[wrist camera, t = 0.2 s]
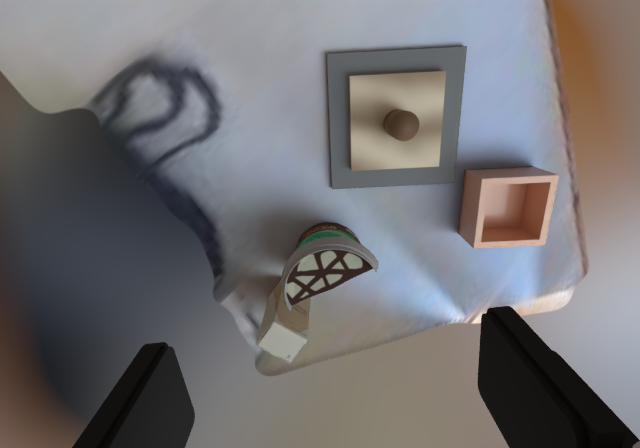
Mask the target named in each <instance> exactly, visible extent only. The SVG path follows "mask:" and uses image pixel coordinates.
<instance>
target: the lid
mask: <svg viewBox="0 0 640 448" xmlns="http://www.w3.org/2000/svg"><path fill="white" fill-rule="evenodd" d="M445 81H446V71H435V72H416V73H397V74H378V75H359V76H349V90H350V149H351V171H361V170H381V169H400V168H420V167H439V160H440V147H441V134H442V120H443V107H444V94H445Z"/></svg>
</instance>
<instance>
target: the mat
mask: <svg viewBox="0 0 640 448" xmlns="http://www.w3.org/2000/svg"><path fill="white" fill-rule="evenodd" d="M466 50H467V46H465V47H446V48H428V49H409V50H390V51H371V52H353V53H334V54H327V70H328V97H329V123H330V150H331V176H332V189H346V188H365V187H385V186H405V185H424V184H444V183H454V178H455V168H456V157H457V146H458V136H459V125H460V114H461V103H462V93H463V82H464V71H465V61H466ZM435 71H446V81H445V94H444V107H443V120H442V134H441V147H440V160H439V167H420V168H400V169H381V170H361V171H351V149H350V90H349V76H359V75H378V74H397V73H416V72H435Z"/></svg>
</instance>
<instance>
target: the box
mask: <svg viewBox="0 0 640 448" xmlns="http://www.w3.org/2000/svg"><path fill="white" fill-rule="evenodd" d="M310 298H311V297H309V298H307V299H305V300H303V301H301V302H299V303H297V304H294V305H292V309H291V311H290V310H289V309H288V307H287V305H286V303H285V300H284V297H283V292H282V286H281V280H280V281H279V283H278V284H277V285H276V287H275V288H274V290H273V291H272V293H271V294H270V295H269V299H268V302H267V306H266V310H265V314H264V317H263V321H262V324H261V328H260V331H259V335H258V339H257V342H256V346H257V347H259V348H261V349H263V350H264V351H266V352H268V353H270V354H272V355H274V356H276V357H278V358H280V359H282V360H284V361H286V362H288V363H291V362H292V360H293V359H294V358H295V357H296V356H297V354H298V353H299V352H300V350H301V349H302V348H303V346H304V345H305V344H306V342H307V339H308V326H309V311H310Z"/></svg>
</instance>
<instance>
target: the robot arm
mask: <svg viewBox="0 0 640 448" xmlns="http://www.w3.org/2000/svg"><path fill="white" fill-rule="evenodd" d="M478 389H479V392H480V395H481V397H482V399H483V401H484V402H485V404H486V406H487V408H488V410H489V411H490V413H491V415H492V417H493V419H494V420H495V422H496V424H497V426H498V428H499V430H500V431H501V433H502V435H503V437H504V439H505V440H506V442H507V444H508V446H509V447H510V448H640V440H639V439H638V438H637V437H636V436H635V435H634V434H633V433H632V432H631V430H630V429H629V428H628V427H627V426H626V425H625V424H624V423H623V422H622V421H621V420H620V419H619V418H618V417H617V416H616V415H615V413H614V412H613V411H612V410H611V409H610V408H609V407H608V406H607V405H606V404H605V403H604V402H603V401H602V400H601V399H600V398H599V397H598V395H597V394H596V393H595V392H594V391H593V390H592V389H591V388H590V387H589V386H588V385H587V384H586V383H585V382H584V381H583V380H582V379H581V377H579V375H578V374H577V373H576V372H575V371H574V370H573V369H572V368H571V367H570V366H569V365H568V364H567V363H566V362H565V360H564V359H563V358H562V357H561V356H560V355H558V354H557V353H556V352H554V351H552V350H551V349H550V348H549V347H548V346H547V345H546V344H545V343H544V342H543V341H542V339H541V338H540V337H539V336H538V335H537V334H536V333H535V332H534V331H533V330H532V329H531V328H530V327H529V325H528V324H527V323H526V322H525V321H524V320H523V319H522V318H521V317H520V316H519V315H518V314H517V313H516V311H515V310H514V309H513V308H511V307H510V306H504V307H494V308H489V309H488V310H487V313H486V314H483V315H482V318H481V335H480V352H479V369H478ZM194 417H195V414H194V409H193V406H192V403H191V400H190V397H189V394H188V391H187V388H186V385H185V382H184V379H183V376H182V373H181V370H180V367H179V363H178V361H177V357H176V355H175V351H174V349H173V348H172V347H168V345H167V344H166V343H165V342H161V343H151V344H145V345H144V346H143V347H142V348H141V349H140V351H139V352H138V354H137V355H136V357H135V358H134V359H133V361H132V362H131V364H130V365H129V367H128V368H127V370H126V371H125V373H124V374H123V375H122V377H121V378H120V380H119V381H118V382H117V384H116V385H115V387H114V388H113V390H112V391H111V392H110V394H109V396H108V397H107V398H106V400H105V401H104V403H103V404H102V405H101V407H100V408H99V410H98V411H97V413H96V414H95V416H94V417H93V418H92V420H91V421H90V423H89V424H88V426H87V427H86V429H85V430H84V432H83V433H82V434H81V436H80V437H79V439H78V440H77V441H76V443H75V444H74V446H73V447H72V448H185V446H186V443H187V440H188V437H189V435H190V432H191V429H192V427H193V424H194V419H195V418H194Z"/></svg>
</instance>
